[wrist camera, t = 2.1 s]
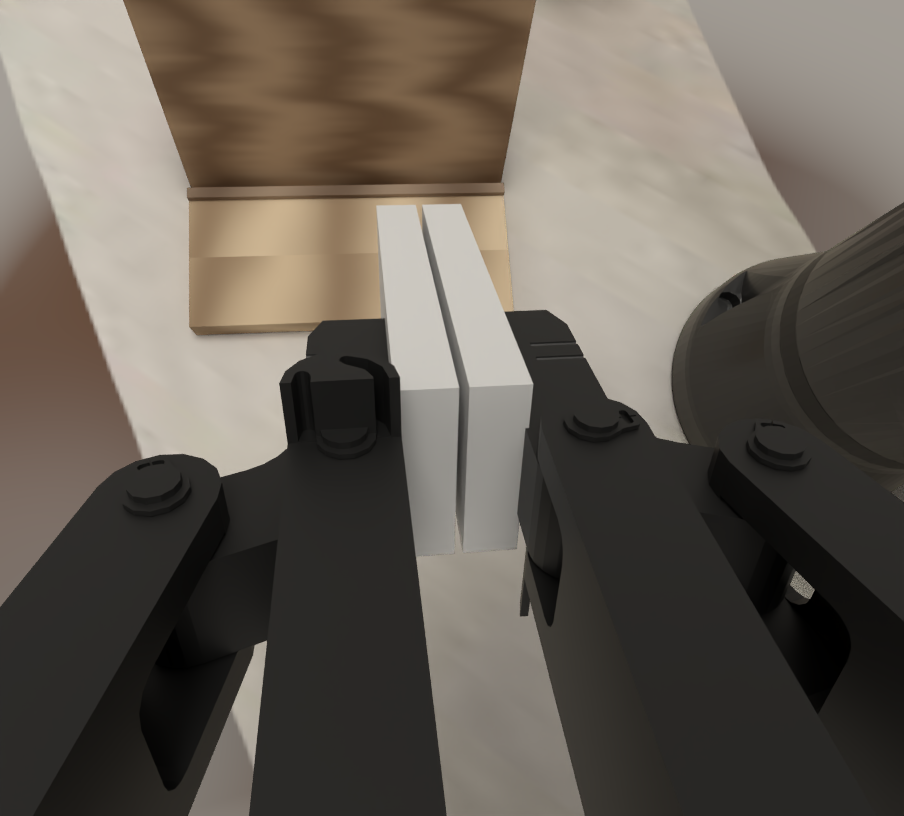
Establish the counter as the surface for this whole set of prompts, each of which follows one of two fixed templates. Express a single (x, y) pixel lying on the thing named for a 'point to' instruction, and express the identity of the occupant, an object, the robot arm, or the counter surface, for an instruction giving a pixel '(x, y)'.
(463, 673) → the counter surface
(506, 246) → the laid floorboards
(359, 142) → the board
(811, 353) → the robot arm
